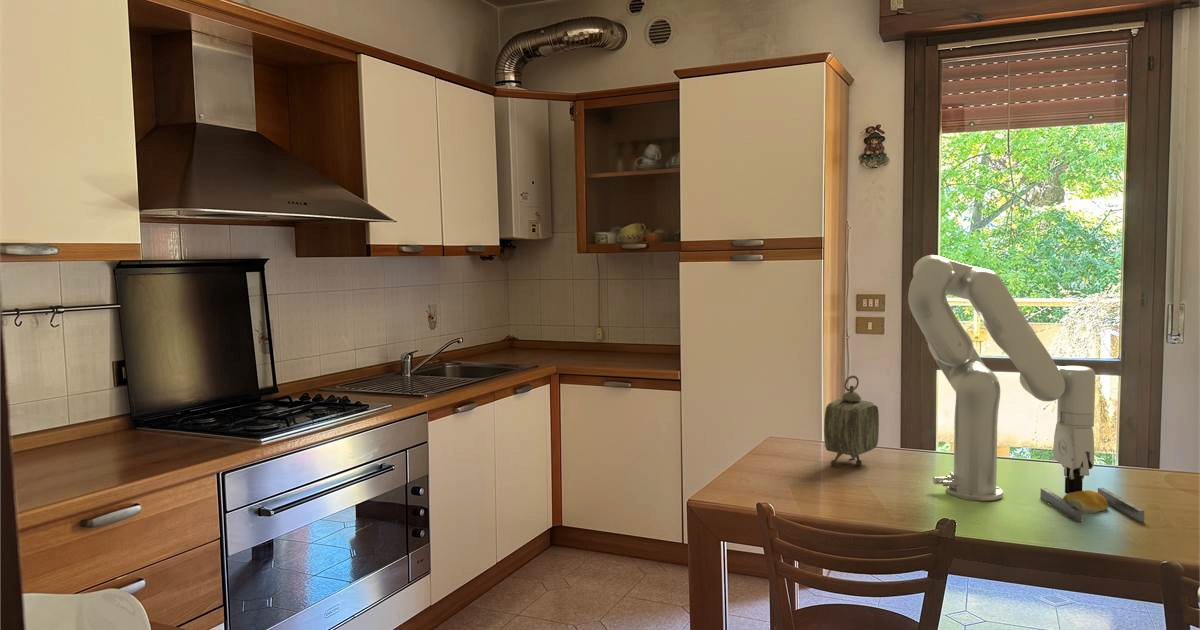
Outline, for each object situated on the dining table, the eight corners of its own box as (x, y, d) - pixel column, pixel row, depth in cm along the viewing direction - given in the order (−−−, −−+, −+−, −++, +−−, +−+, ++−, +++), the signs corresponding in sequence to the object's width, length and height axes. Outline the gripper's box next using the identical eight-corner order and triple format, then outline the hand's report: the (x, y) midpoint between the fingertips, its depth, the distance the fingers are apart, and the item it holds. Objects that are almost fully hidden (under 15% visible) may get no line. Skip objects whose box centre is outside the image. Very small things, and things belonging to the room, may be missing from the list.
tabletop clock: (851, 456, 232) (851, 370, 230) (880, 462, 225) (881, 374, 223) (824, 466, 222) (824, 377, 220) (853, 473, 216) (854, 381, 213)
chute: (1075, 521, 176) (1076, 510, 176) (1040, 498, 192) (1040, 488, 191) (1143, 521, 175) (1144, 510, 175) (1102, 498, 191) (1103, 487, 191)
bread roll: (1114, 509, 184) (1114, 492, 183) (1090, 516, 180) (1091, 499, 179) (1078, 499, 191) (1079, 483, 191) (1055, 505, 187) (1055, 489, 187)
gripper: (1043, 412, 196) (1041, 484, 198) (1076, 426, 182) (1074, 504, 183) (1074, 411, 196) (1072, 484, 198) (1110, 425, 181) (1107, 504, 183)
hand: (1073, 494), depth 191 cm, fingers closed
